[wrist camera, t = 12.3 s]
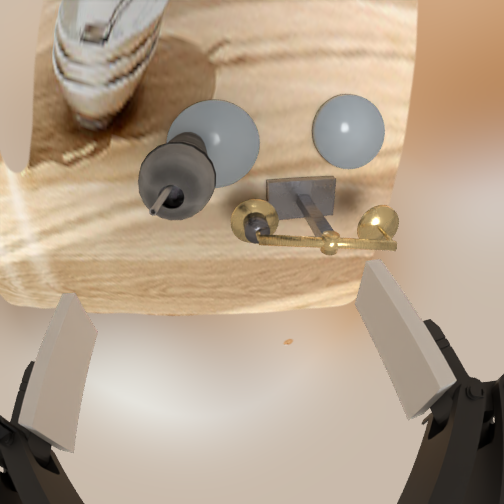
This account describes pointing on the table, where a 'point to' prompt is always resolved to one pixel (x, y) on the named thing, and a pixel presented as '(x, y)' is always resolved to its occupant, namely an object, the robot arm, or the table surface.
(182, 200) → the beverage cup
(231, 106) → the grey flat disc
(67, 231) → the table surface
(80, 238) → the table surface
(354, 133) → the dish light side
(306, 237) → the balance
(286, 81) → the table surface
